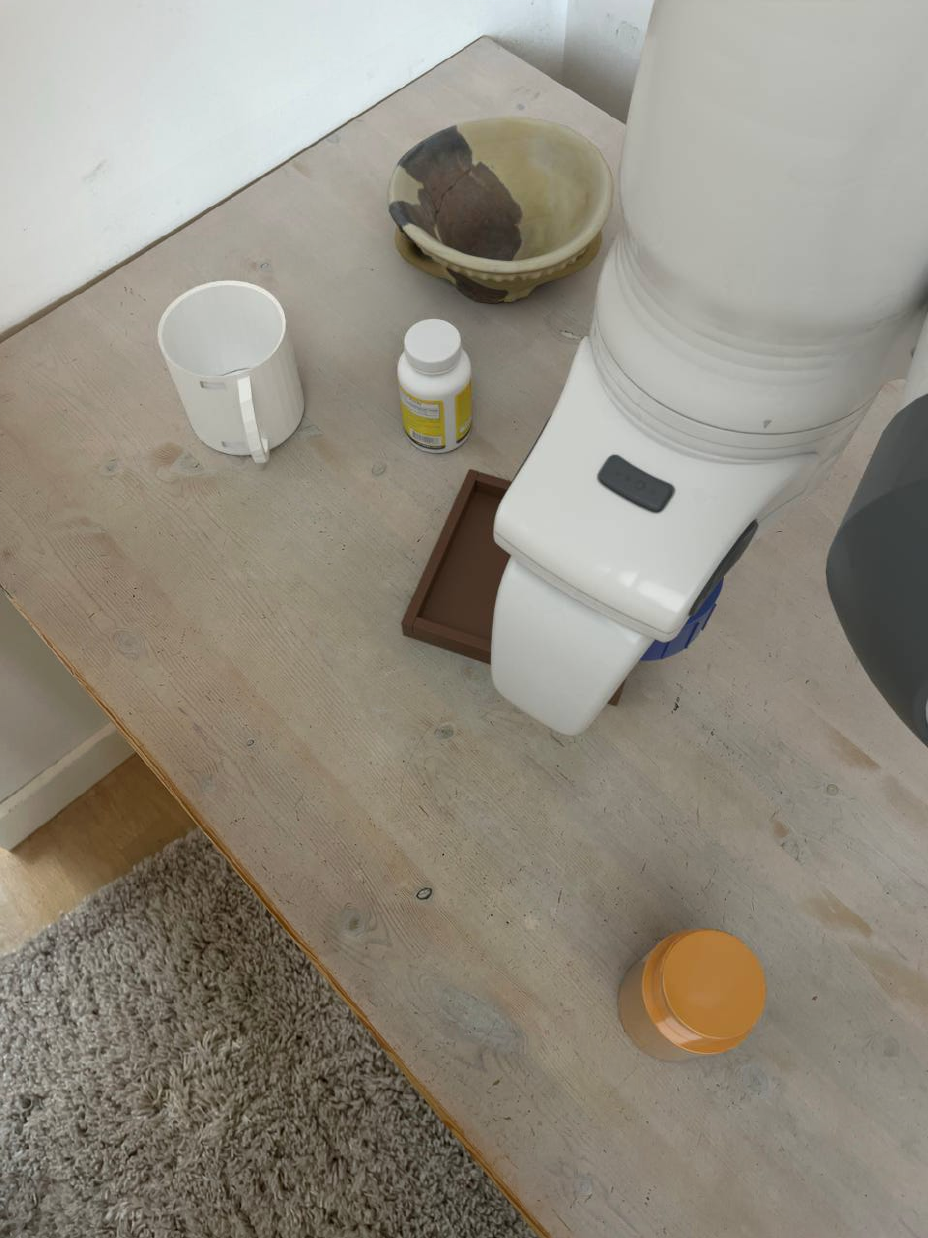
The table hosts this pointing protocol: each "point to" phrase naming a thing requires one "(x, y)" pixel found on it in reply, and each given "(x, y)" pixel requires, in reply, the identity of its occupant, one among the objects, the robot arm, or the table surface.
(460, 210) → the bowl
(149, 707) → the table surface
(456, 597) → the walnut tray
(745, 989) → the jam jar
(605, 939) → the table surface
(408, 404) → the supplement bottle
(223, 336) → the mug
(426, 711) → the table surface
